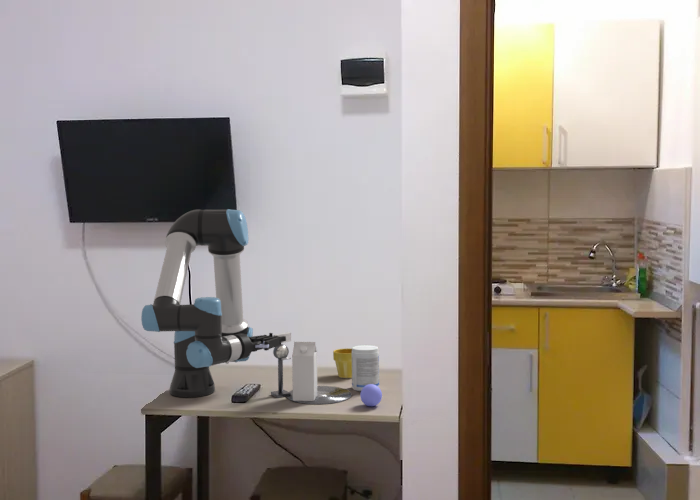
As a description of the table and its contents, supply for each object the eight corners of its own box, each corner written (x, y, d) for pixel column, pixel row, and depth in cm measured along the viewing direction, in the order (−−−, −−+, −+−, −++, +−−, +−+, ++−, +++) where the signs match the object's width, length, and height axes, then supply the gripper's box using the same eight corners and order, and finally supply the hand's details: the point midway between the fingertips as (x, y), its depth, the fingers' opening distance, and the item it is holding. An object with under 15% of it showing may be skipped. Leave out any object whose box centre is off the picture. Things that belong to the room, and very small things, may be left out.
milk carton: (296, 395, 243) (296, 339, 242) (317, 395, 242) (317, 339, 241) (292, 401, 236) (292, 343, 235) (314, 401, 235) (313, 344, 234)
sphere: (376, 410, 227) (376, 388, 227) (356, 407, 230) (356, 385, 230) (385, 404, 234) (385, 383, 233) (365, 402, 237) (365, 380, 236)
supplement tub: (384, 389, 253) (384, 347, 252) (364, 393, 247) (364, 351, 246) (366, 384, 260) (366, 343, 259) (346, 388, 254) (346, 347, 253)
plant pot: (335, 372, 277) (335, 347, 277) (362, 373, 276) (361, 348, 276) (331, 379, 267) (331, 353, 266) (359, 380, 266) (359, 353, 265)
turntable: (305, 407, 230) (305, 406, 230) (275, 392, 248) (275, 391, 248) (363, 398, 241) (363, 396, 241) (331, 384, 260) (331, 383, 260)
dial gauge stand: (278, 398, 241) (277, 346, 240) (270, 394, 246) (270, 343, 245) (291, 396, 244) (291, 344, 243) (284, 392, 249) (283, 342, 247)
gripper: (219, 357, 218) (274, 345, 236) (249, 363, 210) (304, 350, 228) (219, 332, 217) (274, 323, 236) (249, 337, 209) (304, 327, 228)
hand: (289, 336), depth 232 cm, fingers closed
